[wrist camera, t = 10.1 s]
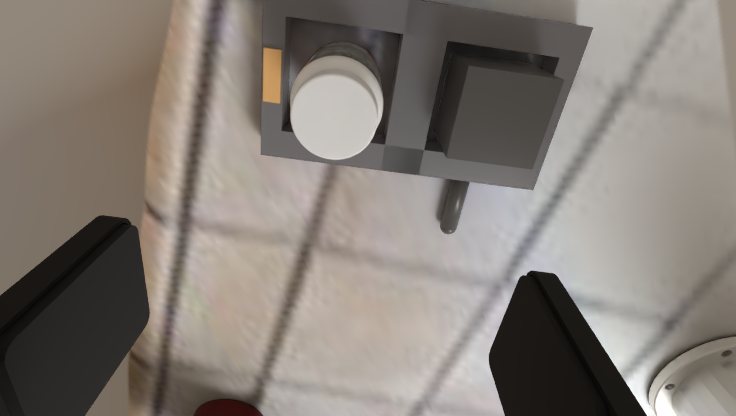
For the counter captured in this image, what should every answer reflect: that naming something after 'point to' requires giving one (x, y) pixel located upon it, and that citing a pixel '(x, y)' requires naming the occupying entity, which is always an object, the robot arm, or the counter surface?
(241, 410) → the mug
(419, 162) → the two-compartment grey tray
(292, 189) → the counter surface
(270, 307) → the counter surface
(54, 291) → the robot arm
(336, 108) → the pill bottle
